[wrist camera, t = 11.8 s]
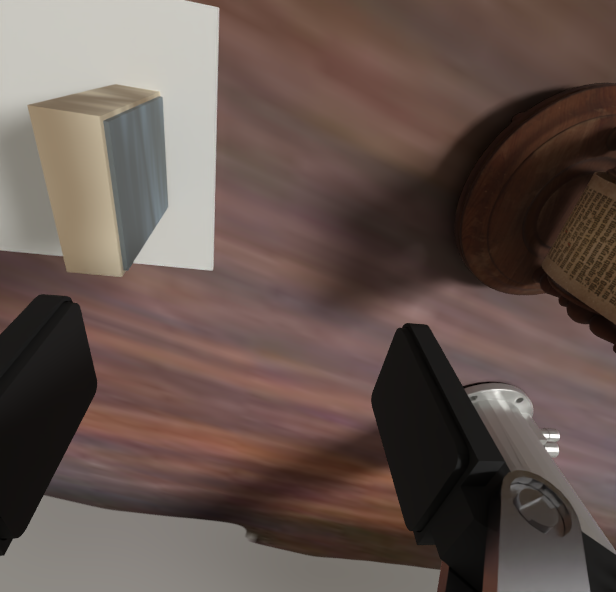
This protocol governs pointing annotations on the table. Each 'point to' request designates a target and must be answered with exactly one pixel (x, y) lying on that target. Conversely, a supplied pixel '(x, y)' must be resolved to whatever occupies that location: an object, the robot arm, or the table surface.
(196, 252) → the rubber mat
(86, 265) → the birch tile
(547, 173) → the brown wooden ornament
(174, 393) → the table surface
